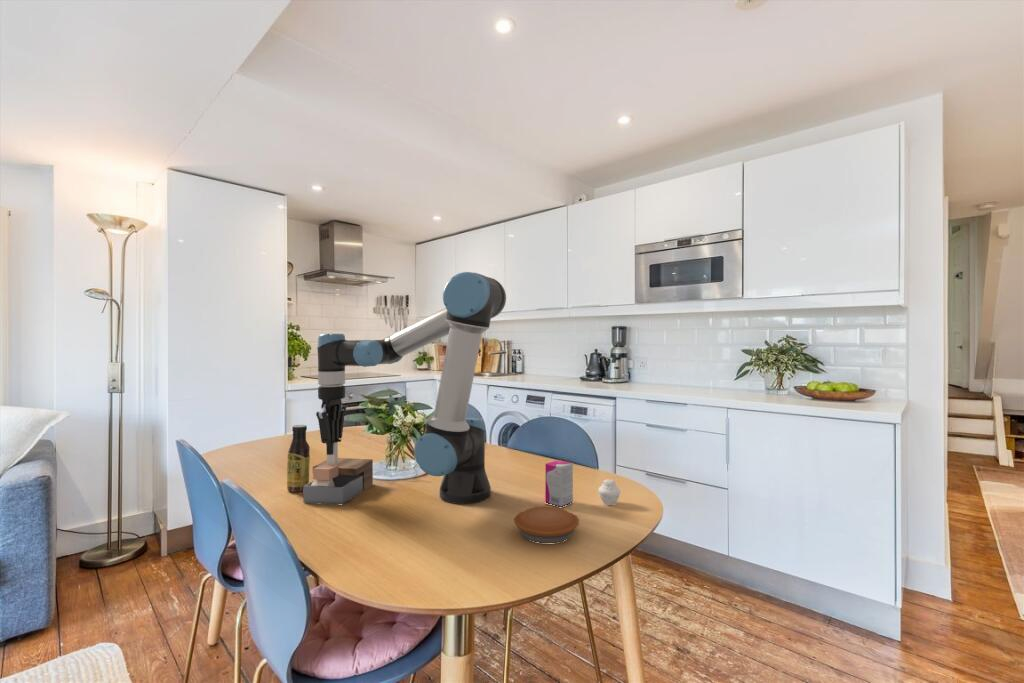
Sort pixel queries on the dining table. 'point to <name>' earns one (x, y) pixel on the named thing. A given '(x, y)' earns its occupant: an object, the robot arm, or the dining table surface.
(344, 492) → the bin
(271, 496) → the dining table surface
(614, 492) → the small white jar
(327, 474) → the salmon pink square block
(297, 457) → the sauce bottle
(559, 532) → the pie
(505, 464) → the dining table surface
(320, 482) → the cream tile
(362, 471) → the plate
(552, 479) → the supplement box
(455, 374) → the robot arm
